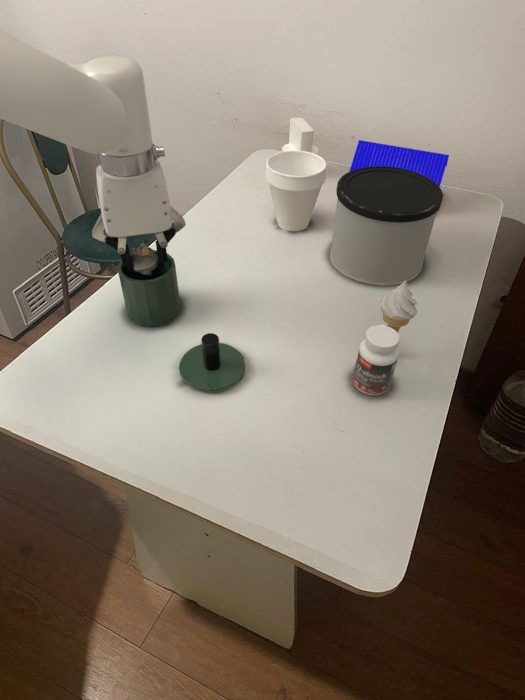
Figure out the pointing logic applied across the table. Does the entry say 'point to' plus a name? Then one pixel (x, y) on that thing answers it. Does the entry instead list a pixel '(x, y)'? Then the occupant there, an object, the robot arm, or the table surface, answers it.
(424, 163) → the blue corrugated sheet
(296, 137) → the cylinder with rectangular tab
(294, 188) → the cup
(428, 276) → the table surface
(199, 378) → the trash can lid
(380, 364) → the pill bottle
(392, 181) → the container
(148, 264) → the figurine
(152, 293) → the trash can
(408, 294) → the ice cream cone
